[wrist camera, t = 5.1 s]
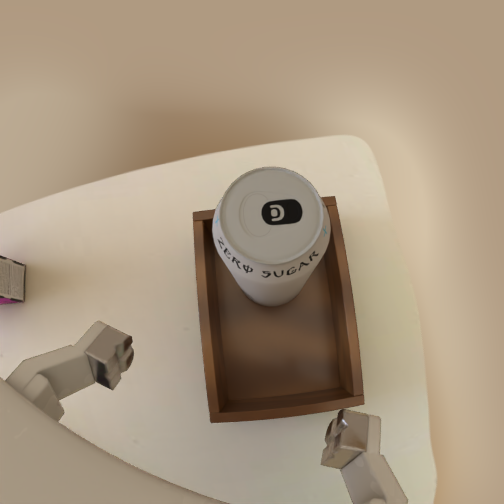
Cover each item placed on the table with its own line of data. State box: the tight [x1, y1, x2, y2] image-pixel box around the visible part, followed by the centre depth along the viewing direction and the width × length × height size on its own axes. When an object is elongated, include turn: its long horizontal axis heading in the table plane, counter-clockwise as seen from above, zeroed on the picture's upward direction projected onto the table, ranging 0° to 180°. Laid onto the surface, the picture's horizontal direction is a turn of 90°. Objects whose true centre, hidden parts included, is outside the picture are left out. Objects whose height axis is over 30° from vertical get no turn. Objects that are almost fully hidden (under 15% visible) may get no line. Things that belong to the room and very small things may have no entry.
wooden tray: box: [193, 196, 364, 423], centre depth 26 cm, size 17×12×6 cm
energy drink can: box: [212, 167, 331, 306], centre depth 22 cm, size 6×6×15 cm
